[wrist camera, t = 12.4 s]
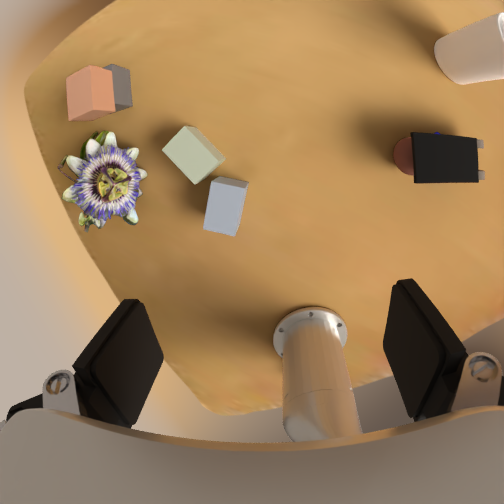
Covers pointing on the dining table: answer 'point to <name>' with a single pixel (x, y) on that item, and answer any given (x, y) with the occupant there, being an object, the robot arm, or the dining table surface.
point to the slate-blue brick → (225, 205)
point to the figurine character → (439, 158)
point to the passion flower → (104, 180)
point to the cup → (473, 51)
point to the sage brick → (193, 154)
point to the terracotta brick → (90, 94)
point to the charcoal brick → (121, 87)
